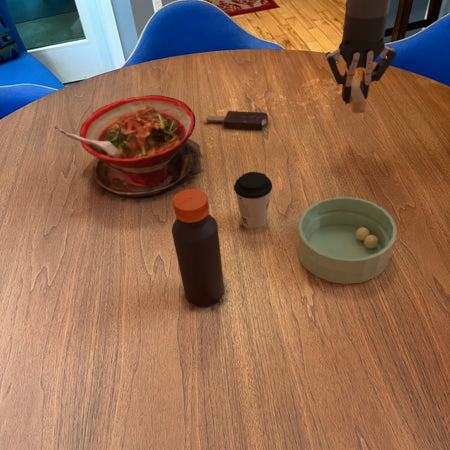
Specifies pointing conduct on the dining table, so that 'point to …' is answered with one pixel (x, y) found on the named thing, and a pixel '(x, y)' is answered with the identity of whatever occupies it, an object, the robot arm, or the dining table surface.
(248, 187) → the coffee cup
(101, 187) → the stew
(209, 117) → the ice cream bar
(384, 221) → the bowl
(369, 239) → the chickpea
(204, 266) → the bottle
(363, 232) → the chickpea
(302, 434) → the dining table surface
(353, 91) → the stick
